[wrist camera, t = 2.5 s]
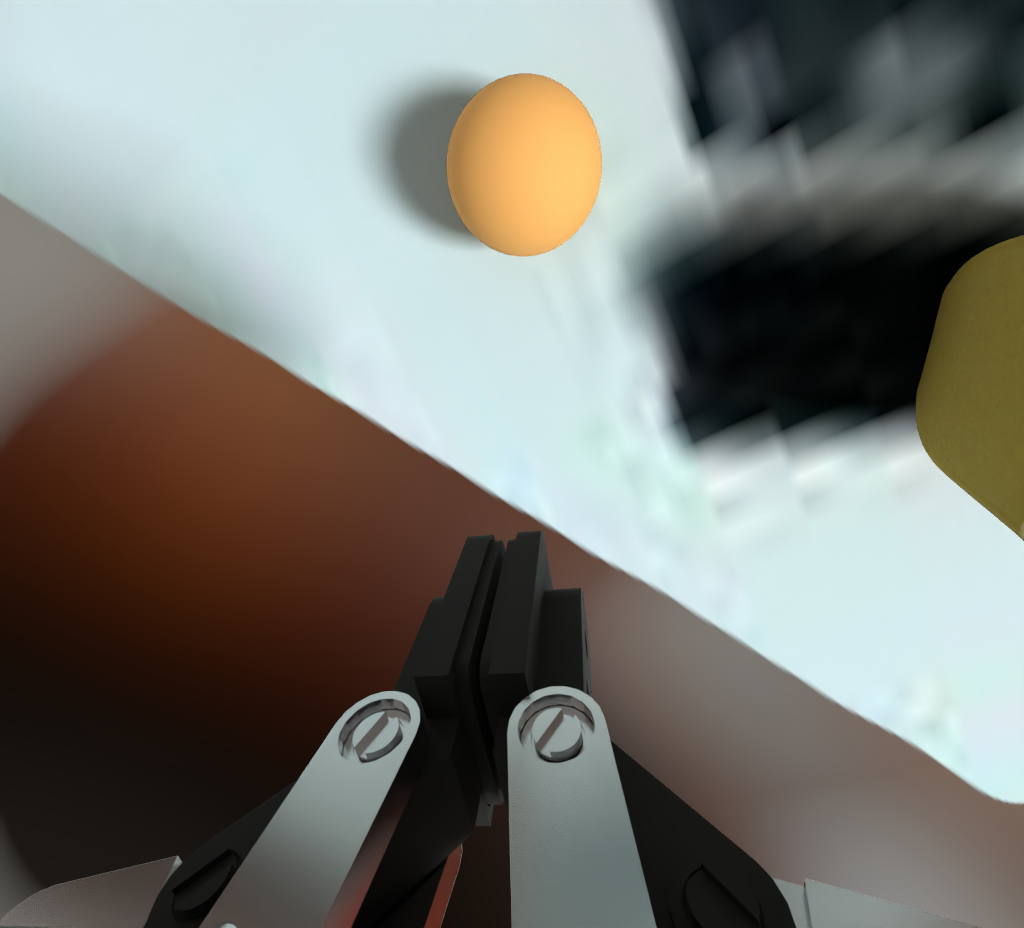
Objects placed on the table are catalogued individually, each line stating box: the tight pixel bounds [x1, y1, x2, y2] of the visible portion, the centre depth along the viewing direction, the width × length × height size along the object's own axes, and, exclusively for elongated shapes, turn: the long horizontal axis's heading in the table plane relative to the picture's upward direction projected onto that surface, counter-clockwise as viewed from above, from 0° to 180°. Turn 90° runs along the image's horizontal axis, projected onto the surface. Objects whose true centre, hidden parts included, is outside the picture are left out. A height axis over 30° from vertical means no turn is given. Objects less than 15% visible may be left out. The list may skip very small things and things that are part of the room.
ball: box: [447, 74, 602, 256], centre depth 17 cm, size 6×6×6 cm
